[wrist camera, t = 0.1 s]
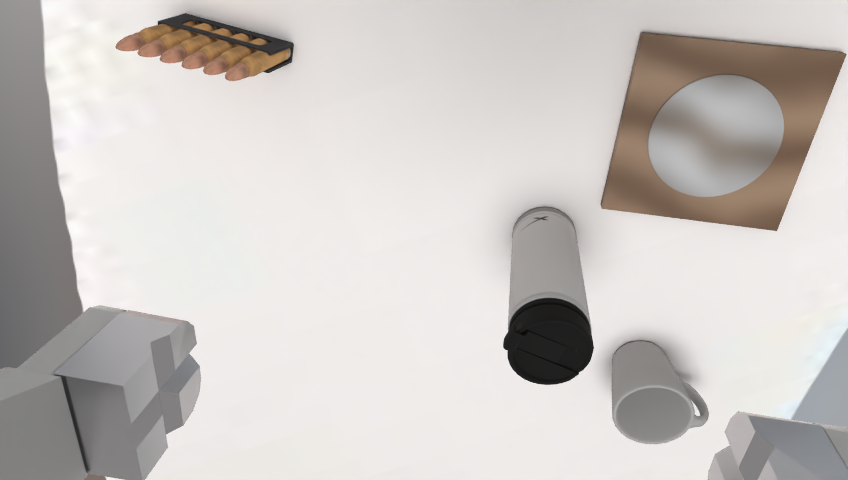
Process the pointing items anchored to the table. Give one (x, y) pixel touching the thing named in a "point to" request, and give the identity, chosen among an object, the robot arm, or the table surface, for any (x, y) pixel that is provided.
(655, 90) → the board
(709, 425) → the table surface
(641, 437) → the cup
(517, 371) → the travel mug
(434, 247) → the table surface
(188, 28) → the ammunition clip
